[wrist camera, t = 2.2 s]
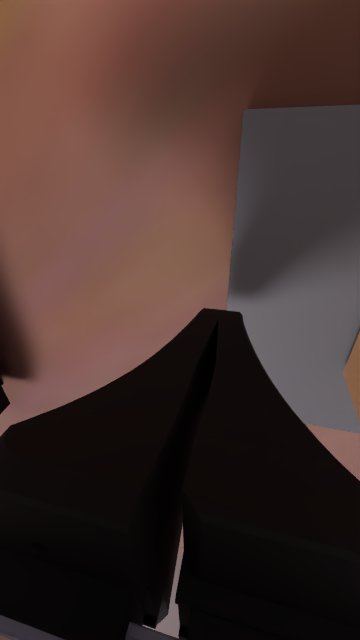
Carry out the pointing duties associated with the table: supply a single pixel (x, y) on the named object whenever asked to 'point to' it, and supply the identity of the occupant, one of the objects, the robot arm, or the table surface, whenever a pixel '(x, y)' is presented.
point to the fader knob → (354, 375)
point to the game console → (3, 398)
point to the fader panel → (300, 253)
